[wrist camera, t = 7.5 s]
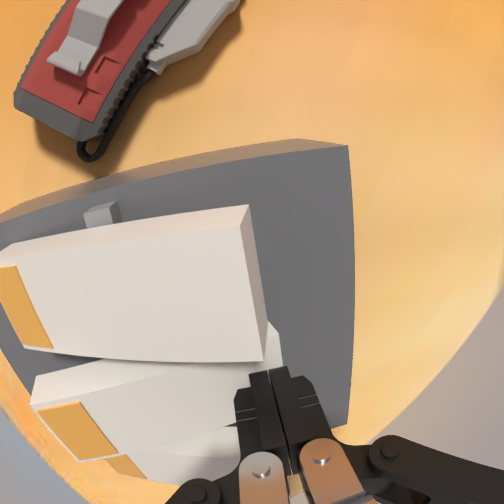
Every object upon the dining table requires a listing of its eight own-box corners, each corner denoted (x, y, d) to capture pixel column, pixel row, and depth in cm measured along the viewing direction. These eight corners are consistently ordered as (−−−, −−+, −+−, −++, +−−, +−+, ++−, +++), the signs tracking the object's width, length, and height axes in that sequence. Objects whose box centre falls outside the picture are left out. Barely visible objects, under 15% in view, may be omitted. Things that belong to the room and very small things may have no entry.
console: (297, 138, 17) (359, 147, 10) (316, 360, 24) (351, 438, 16) (14, 206, 16) (-63, 251, 9) (97, 393, 22) (77, 469, 15)
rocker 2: (283, 425, 13) (282, 460, 11) (289, 463, 14) (288, 492, 12) (97, 413, 14) (84, 438, 12) (126, 451, 16) (117, 474, 14)
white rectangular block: (248, 204, 9) (239, 227, 7) (267, 323, 10) (263, 363, 8) (12, 243, 10) (-18, 263, 8) (46, 324, 12) (23, 349, 10)
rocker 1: (259, 310, 13) (279, 334, 11) (270, 377, 14) (288, 403, 13) (36, 375, 10) (29, 406, 8) (79, 434, 11) (79, 464, 10)
